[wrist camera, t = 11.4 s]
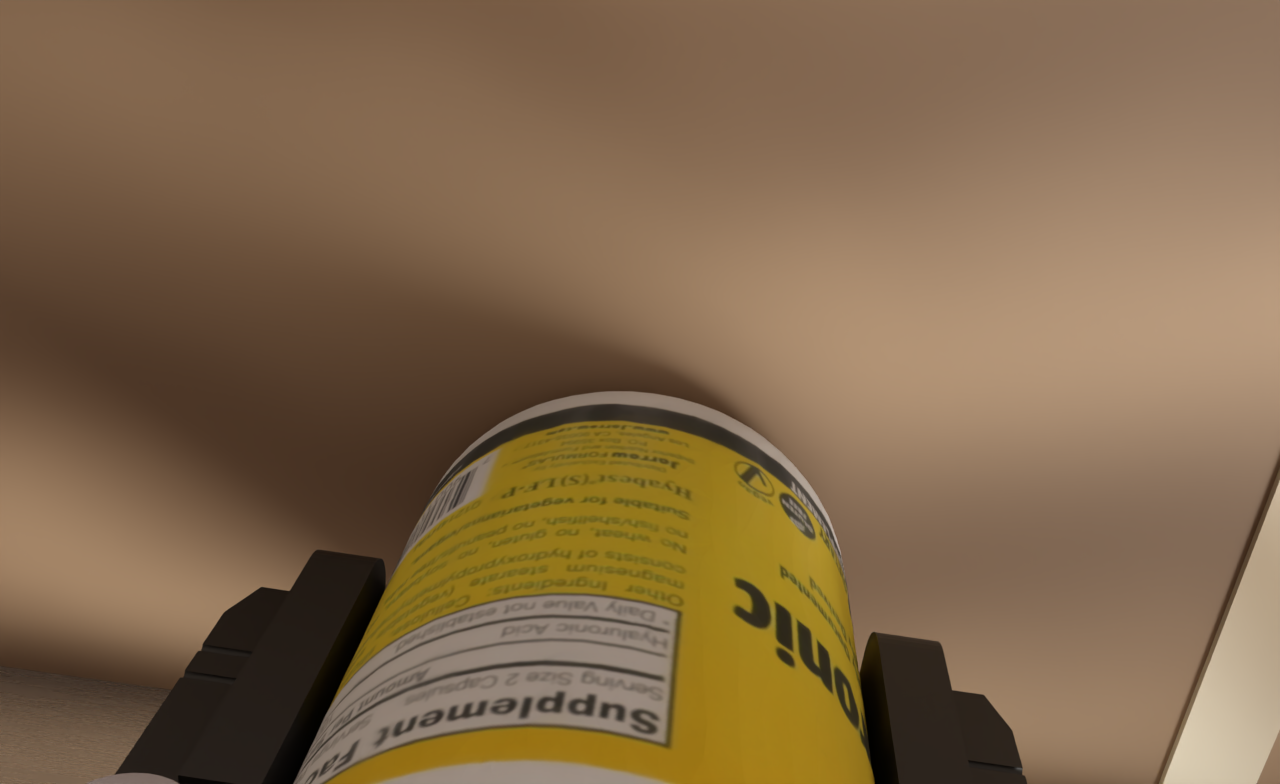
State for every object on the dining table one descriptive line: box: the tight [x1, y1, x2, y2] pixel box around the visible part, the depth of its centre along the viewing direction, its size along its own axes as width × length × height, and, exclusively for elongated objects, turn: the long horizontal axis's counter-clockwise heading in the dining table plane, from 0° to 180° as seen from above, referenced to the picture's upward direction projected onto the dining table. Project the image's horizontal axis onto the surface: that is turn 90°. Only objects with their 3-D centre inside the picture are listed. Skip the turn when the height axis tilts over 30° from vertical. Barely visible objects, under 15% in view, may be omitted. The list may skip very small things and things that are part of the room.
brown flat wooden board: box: [0, 0, 1280, 784], centre depth 16 cm, size 14×28×2 cm, turn 84°
